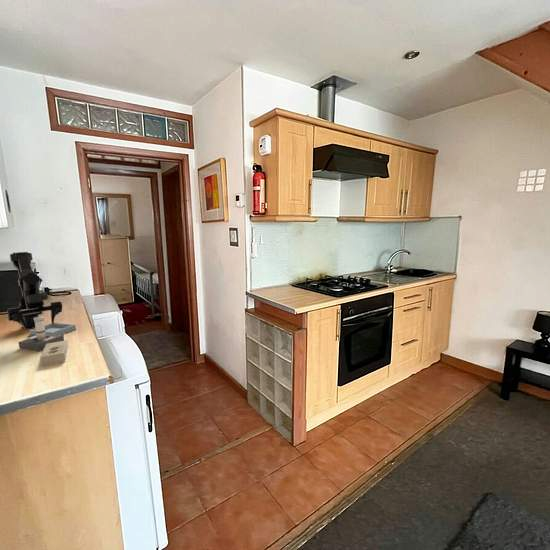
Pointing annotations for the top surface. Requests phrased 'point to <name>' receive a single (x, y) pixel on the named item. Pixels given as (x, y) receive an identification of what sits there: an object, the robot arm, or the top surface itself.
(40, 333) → the light bulb
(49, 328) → the parts tray
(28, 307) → the robot arm
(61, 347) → the electrical outlet
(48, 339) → the socket block
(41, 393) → the top surface
